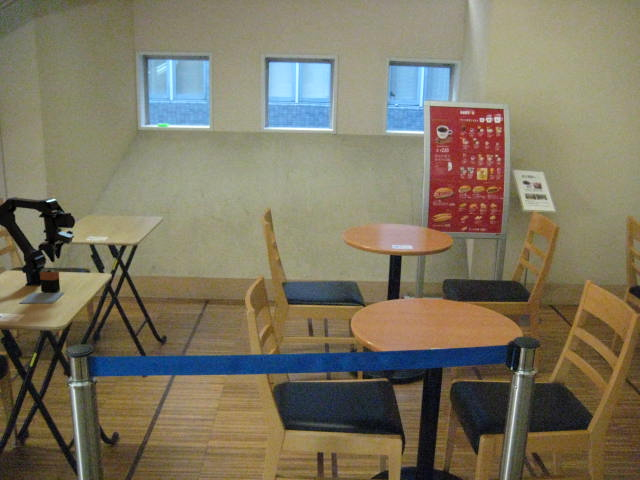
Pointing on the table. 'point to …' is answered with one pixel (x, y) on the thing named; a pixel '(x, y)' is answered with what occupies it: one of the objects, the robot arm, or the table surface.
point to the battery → (49, 281)
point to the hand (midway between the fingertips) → (55, 260)
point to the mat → (41, 298)
